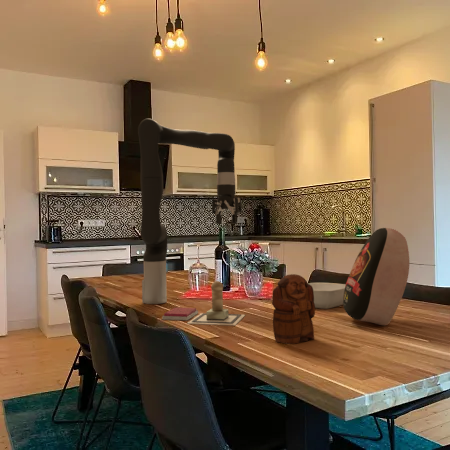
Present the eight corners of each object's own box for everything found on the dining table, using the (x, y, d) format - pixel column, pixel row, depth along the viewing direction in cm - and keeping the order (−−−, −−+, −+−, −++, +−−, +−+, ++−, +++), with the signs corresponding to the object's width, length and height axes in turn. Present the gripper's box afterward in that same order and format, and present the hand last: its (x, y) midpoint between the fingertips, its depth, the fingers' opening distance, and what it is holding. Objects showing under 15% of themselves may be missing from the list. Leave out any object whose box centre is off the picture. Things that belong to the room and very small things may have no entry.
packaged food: (337, 315, 158) (335, 228, 158) (394, 315, 157) (393, 227, 157) (352, 330, 136) (351, 228, 136) (420, 329, 135) (418, 227, 135)
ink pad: (162, 319, 156) (162, 313, 156) (174, 312, 168) (174, 307, 168) (187, 320, 154) (187, 314, 154) (198, 313, 166) (197, 307, 166)
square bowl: (283, 306, 179) (283, 286, 179) (312, 299, 194) (311, 281, 194) (330, 312, 165) (330, 290, 165) (357, 304, 180) (357, 284, 180)
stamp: (206, 320, 153) (205, 282, 153) (211, 316, 159) (211, 279, 159) (224, 320, 151) (223, 282, 151) (228, 317, 157) (227, 280, 157)
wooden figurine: (285, 346, 120) (284, 277, 120) (270, 340, 126) (269, 274, 126) (319, 339, 126) (318, 273, 126) (304, 335, 132) (303, 272, 131)
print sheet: (187, 323, 149) (187, 321, 149) (201, 314, 164) (201, 312, 164) (235, 325, 145) (235, 323, 145) (245, 315, 161) (245, 313, 161)
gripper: (207, 185, 190) (207, 224, 190) (232, 182, 180) (233, 223, 180) (220, 185, 195) (220, 224, 195) (245, 183, 185) (246, 223, 185)
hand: (226, 224), depth 188 cm, fingers open, 8 cm apart
